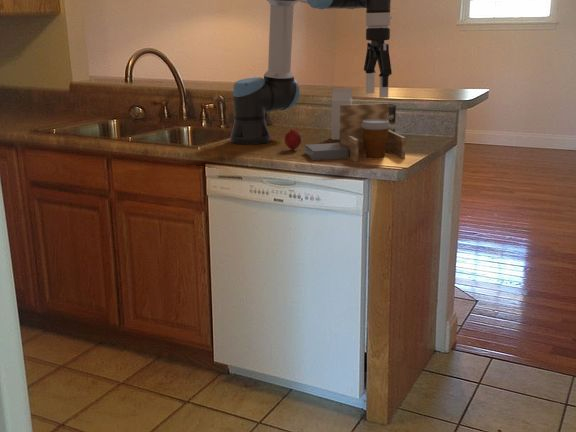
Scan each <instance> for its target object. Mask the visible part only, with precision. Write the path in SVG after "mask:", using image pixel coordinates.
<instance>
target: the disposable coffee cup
mask: <svg viewBox="0 0 576 432" xmlns="http://www.w3.org/2000/svg"><path fill="white" fill-rule="evenodd" d="M361 126H362V128H363V137H364V147H365V150H364V154H365V158H367V159H370V158H371V160H372V159H373V160H376V159H378V160H379V159H380V158H381V159H384V158H385V156H386V144H387V137H388V130H389V127H390V124H389V121H388V120H382V119H369V120H363V122H362V124H361Z"/></svg>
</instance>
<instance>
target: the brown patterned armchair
mask: <svg viewBox="0 0 576 432" xmlns="http://www.w3.org/2000/svg"><path fill="white" fill-rule="evenodd" d="M389 104H390V103H389V102H383V103H360V104H359V103H357V104H356V103H355V104H352V105H340V140H339V143H340V144H341V145H343V146H344V147H346V148H348V149H349V158H348V159H350V158H351V159H350V160H352V161H353V160H354V161H353V162H359V152H360V151H365V147H364V137H363V128H362V126H361V124H362V122H363V120H369V119H382V120H388V117H389ZM406 139H407V137H405V136H404V135H401V134H400V133H397V132H396V131H395V132H393V131H391V130H388V137H387V144H386V150H385V152H389V153H390V154H392V155H394V156H396V157H397V158H400V159H403V160H405V159H406Z"/></svg>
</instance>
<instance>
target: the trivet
mask: <svg viewBox="0 0 576 432" xmlns="http://www.w3.org/2000/svg"><path fill="white" fill-rule="evenodd" d="M304 146H305V147H304V148H305V150H304V151H305V154H306V156H308V157H309V158H310V159H311V160H313V161H321V159H325V160H337V159H338V158H343V159H350V158H349V149H348V148H346V147H344V146H343V145H341V144H340V142H333V143H315V144H314V143H313V144H305V145H304Z"/></svg>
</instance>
